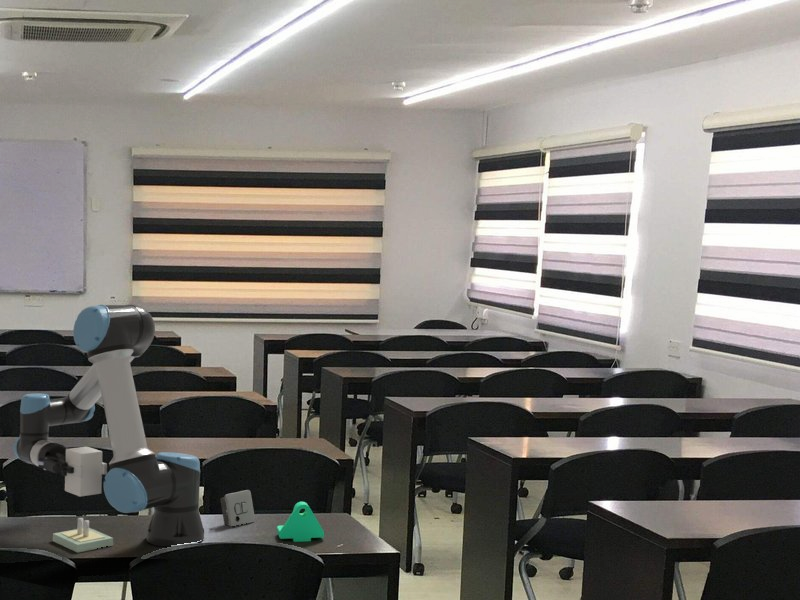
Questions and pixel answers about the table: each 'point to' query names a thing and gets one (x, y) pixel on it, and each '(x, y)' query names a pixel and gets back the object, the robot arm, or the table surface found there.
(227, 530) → the table surface
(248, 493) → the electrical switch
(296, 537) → the camera mount
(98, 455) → the block
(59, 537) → the board
